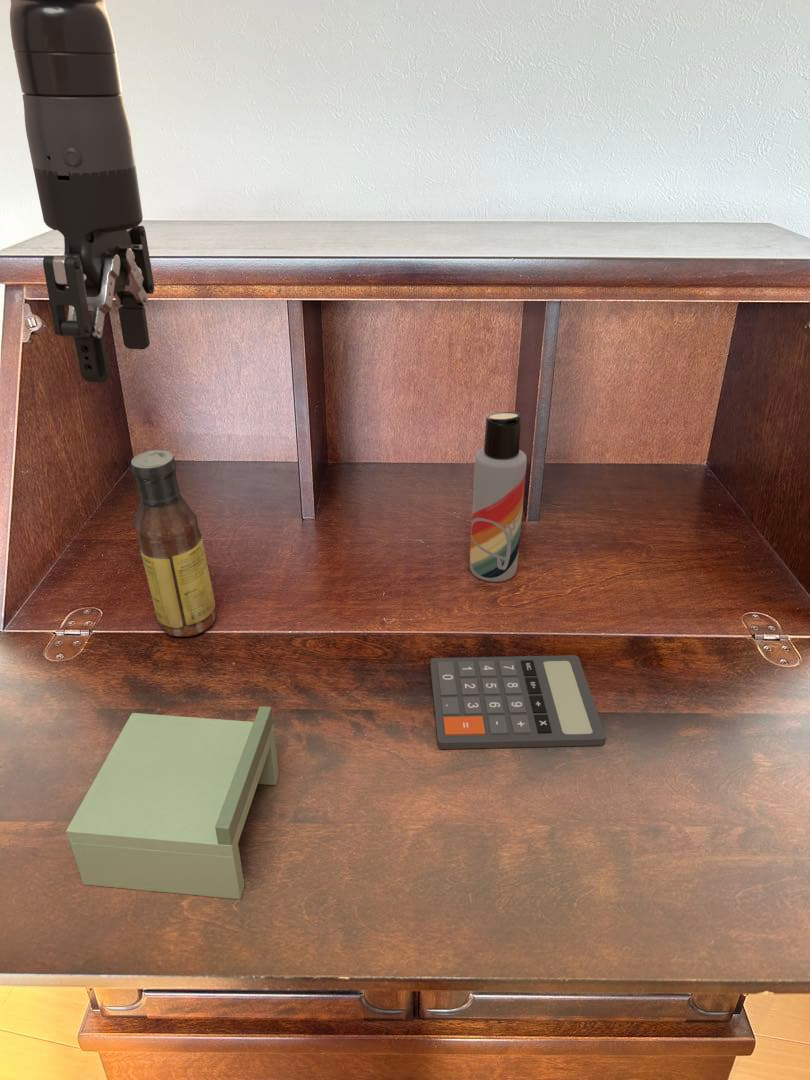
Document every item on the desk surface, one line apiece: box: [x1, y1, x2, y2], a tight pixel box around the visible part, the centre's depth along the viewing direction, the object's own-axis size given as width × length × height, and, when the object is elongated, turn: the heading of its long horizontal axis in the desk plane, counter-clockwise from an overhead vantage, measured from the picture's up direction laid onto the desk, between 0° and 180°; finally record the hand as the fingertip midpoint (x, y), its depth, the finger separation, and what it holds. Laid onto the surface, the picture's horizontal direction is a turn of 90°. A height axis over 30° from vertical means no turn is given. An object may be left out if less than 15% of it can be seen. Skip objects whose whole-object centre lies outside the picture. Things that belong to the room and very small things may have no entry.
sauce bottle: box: [130, 449, 217, 638], centre depth 82 cm, size 7×6×20 cm
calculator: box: [429, 654, 607, 750], centre depth 76 cm, size 12×1×15 cm
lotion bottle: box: [469, 411, 528, 583], centre depth 91 cm, size 6×6×20 cm
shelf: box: [65, 706, 280, 900], centre depth 62 cm, size 12×12×8 cm
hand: (118, 363), depth 71 cm, fingers open, 8 cm apart
